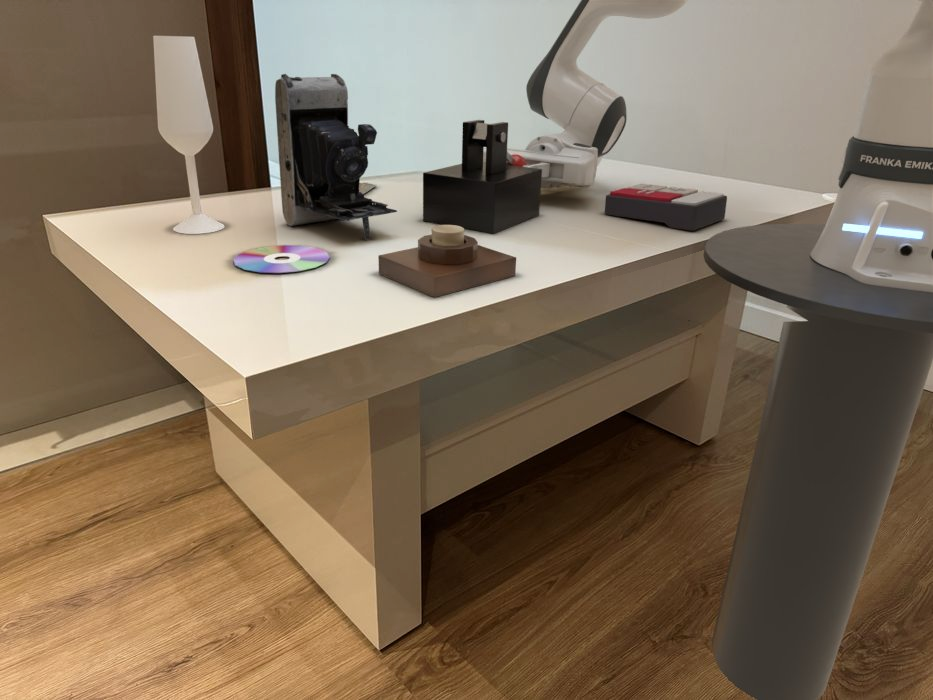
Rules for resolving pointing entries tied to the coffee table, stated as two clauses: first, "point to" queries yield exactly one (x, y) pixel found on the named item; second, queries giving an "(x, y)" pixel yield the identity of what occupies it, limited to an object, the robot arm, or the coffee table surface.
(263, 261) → the cd
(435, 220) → the lever stand
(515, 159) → the red-knobbed metal lever
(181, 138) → the champagne flute
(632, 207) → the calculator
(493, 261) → the block
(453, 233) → the timer button
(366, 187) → the map
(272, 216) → the coffee table surface
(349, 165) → the vintage camera
